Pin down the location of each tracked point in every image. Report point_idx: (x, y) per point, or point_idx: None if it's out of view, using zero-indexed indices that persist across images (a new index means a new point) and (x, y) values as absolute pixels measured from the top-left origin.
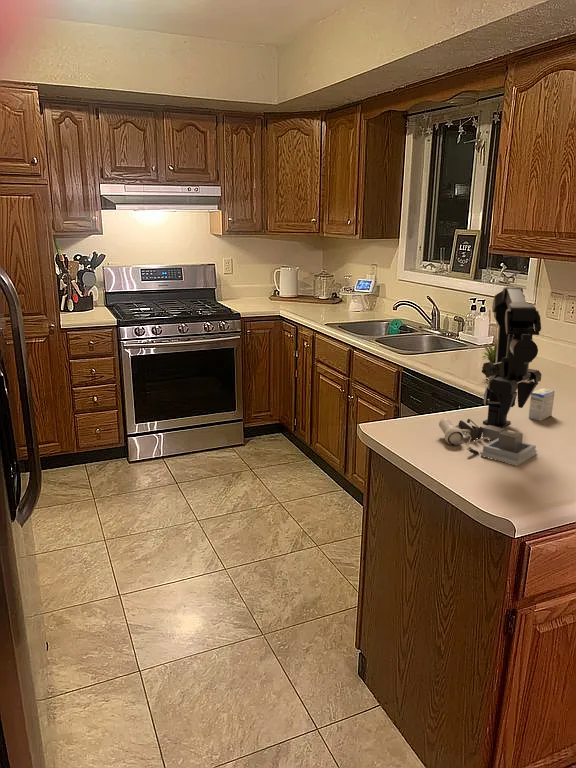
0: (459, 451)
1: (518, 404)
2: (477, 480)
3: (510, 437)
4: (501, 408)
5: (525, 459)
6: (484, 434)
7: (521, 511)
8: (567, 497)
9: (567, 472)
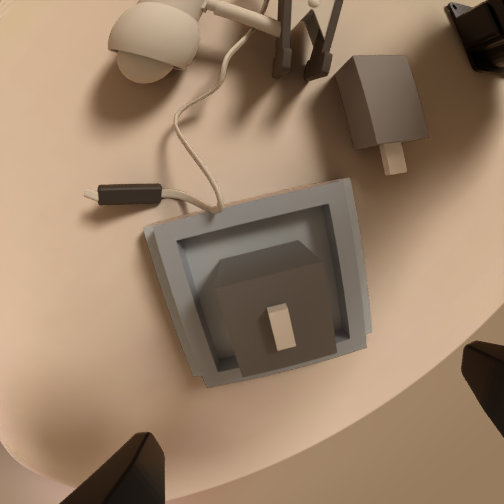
0: (115, 134)
1: (479, 357)
2: (21, 357)
3: (234, 351)
4: (100, 472)
5: None
6: (344, 76)
7: (44, 468)
8: None
9: (294, 450)
